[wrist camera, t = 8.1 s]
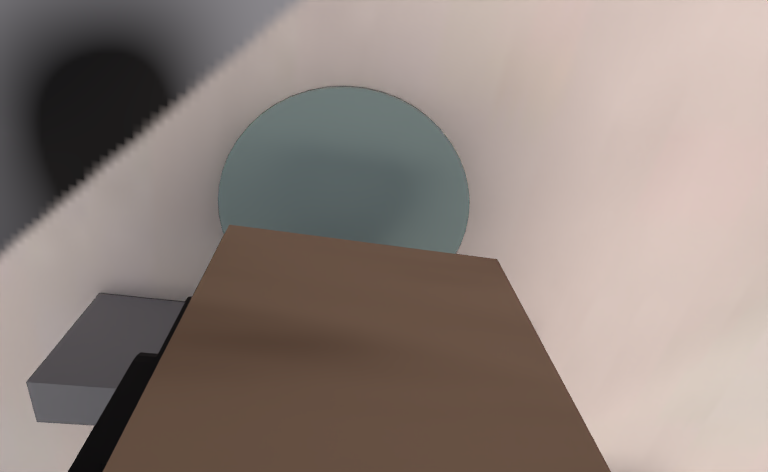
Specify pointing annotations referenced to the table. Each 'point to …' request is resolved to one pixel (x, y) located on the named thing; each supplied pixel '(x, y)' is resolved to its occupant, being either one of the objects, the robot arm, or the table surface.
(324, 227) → the mat
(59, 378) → the bar
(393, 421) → the cube
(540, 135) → the table surface
